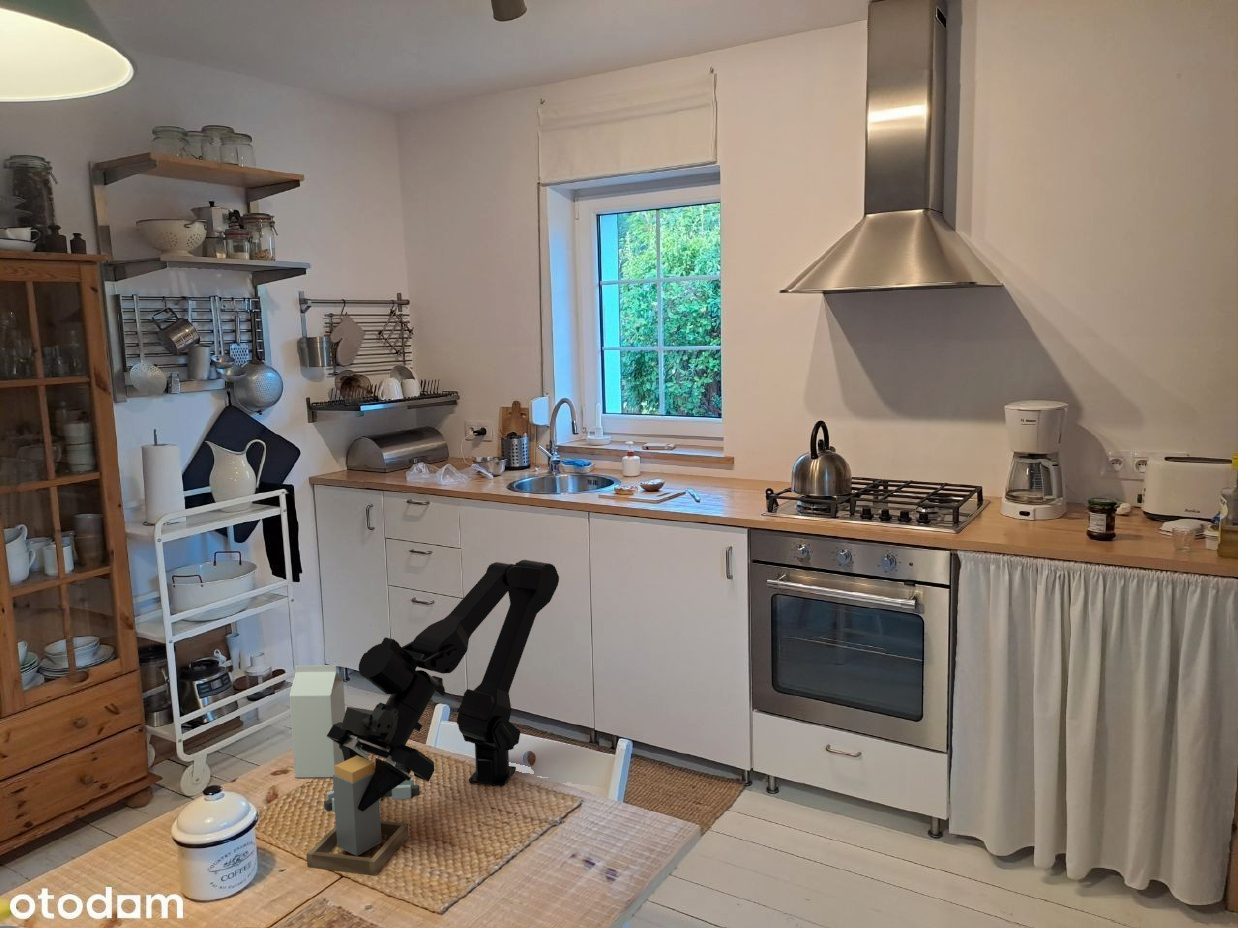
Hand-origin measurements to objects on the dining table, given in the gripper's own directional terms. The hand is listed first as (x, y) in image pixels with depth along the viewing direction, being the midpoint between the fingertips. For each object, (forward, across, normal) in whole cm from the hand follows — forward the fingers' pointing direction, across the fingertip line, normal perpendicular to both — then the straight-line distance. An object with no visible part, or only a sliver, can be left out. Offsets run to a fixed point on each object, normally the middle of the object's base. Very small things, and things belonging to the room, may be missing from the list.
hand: (349, 805), depth 131 cm
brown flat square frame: (+4, 0, +6) cm, 8 cm away
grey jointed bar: (-3, -11, +14) cm, 18 cm away
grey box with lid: (+4, 0, +6) cm, 7 cm away
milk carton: (-5, -27, +16) cm, 32 cm away
